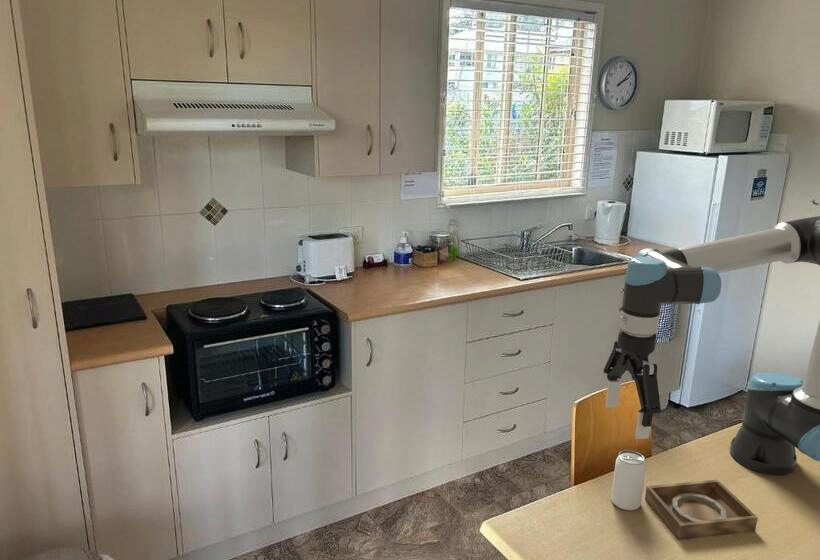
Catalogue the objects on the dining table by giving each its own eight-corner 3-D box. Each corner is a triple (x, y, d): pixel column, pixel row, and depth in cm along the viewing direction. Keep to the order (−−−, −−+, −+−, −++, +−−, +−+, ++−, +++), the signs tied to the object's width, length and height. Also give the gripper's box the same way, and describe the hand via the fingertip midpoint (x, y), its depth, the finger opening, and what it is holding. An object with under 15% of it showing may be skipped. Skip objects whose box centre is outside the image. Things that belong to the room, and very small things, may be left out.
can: (642, 513, 143) (648, 466, 140) (612, 509, 144) (618, 463, 141) (638, 496, 149) (644, 451, 146) (609, 492, 150) (615, 447, 147)
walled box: (715, 492, 151) (717, 479, 150) (755, 531, 138) (757, 517, 137) (644, 499, 148) (646, 486, 147) (678, 539, 135) (680, 525, 134)
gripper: (594, 311, 144) (585, 396, 150) (652, 355, 121) (639, 454, 127) (625, 310, 146) (615, 394, 152) (688, 353, 122) (673, 451, 128)
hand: (625, 421), depth 139 cm, fingers open, 13 cm apart
